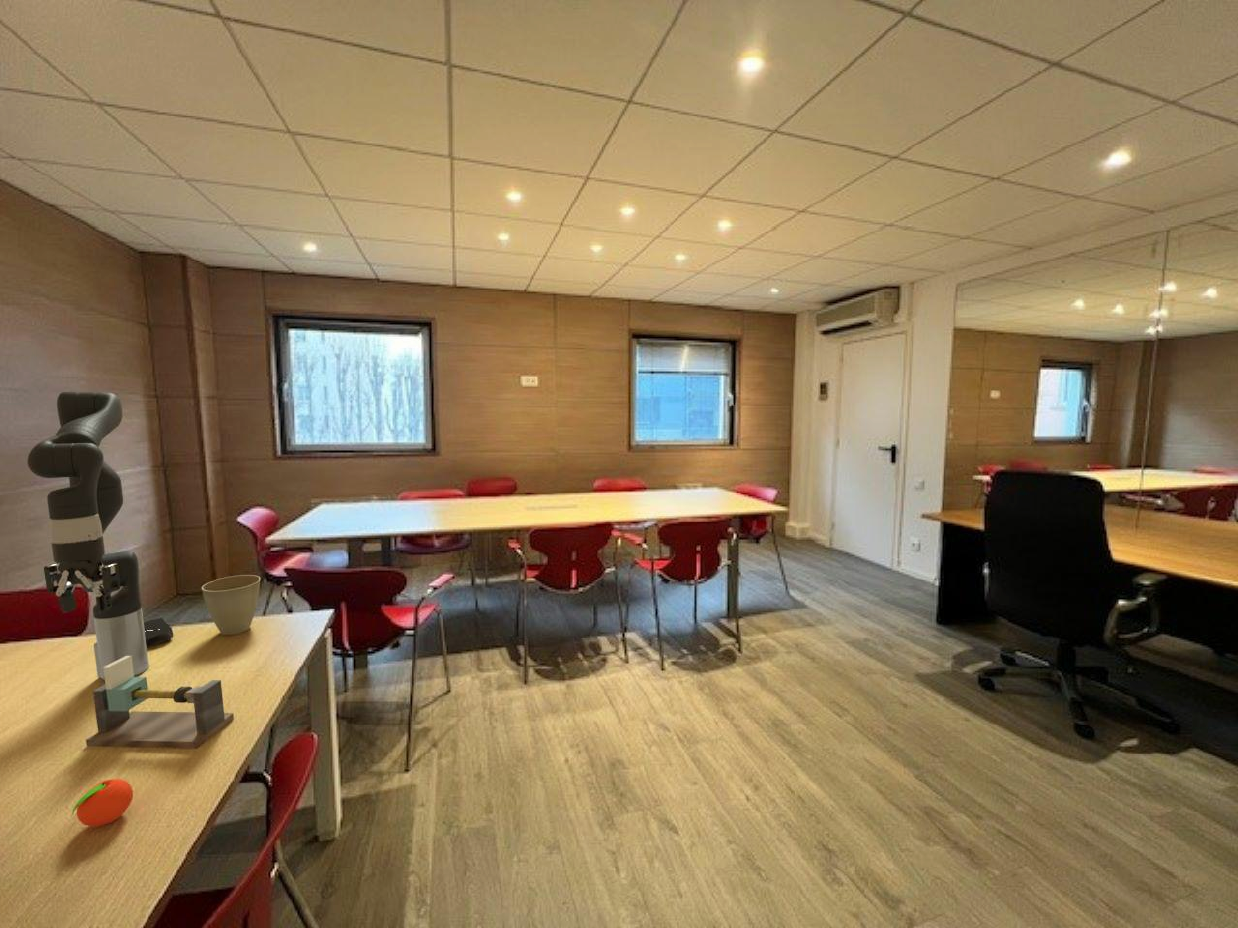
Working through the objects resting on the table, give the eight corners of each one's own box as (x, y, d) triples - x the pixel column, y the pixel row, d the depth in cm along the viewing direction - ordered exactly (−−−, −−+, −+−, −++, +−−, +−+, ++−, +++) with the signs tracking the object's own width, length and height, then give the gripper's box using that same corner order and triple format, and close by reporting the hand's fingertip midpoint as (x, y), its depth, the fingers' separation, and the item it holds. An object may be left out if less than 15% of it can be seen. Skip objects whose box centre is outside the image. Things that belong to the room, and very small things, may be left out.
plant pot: (227, 644, 153) (222, 593, 151) (195, 636, 158) (190, 587, 156) (275, 624, 167) (271, 577, 165) (244, 617, 172) (240, 572, 170)
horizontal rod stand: (86, 746, 108) (80, 697, 106) (132, 717, 118) (127, 672, 116) (197, 748, 107) (191, 699, 106) (233, 718, 117) (229, 674, 116)
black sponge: (175, 641, 155) (174, 630, 155) (138, 652, 149) (136, 640, 148) (163, 627, 165) (162, 616, 165) (128, 636, 159) (126, 625, 158)
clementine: (88, 846, 83) (83, 807, 83) (60, 836, 85) (55, 798, 84) (145, 809, 91) (140, 772, 90) (118, 801, 93) (113, 765, 92)
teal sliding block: (108, 710, 109) (103, 667, 108) (131, 697, 114) (126, 655, 113) (126, 711, 109) (121, 667, 108) (148, 697, 114) (143, 655, 113)
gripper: (23, 541, 104) (34, 618, 106) (91, 542, 104) (101, 619, 105) (64, 532, 111) (73, 604, 113) (127, 532, 111) (136, 604, 113)
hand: (87, 611), depth 109 cm, fingers open, 7 cm apart
